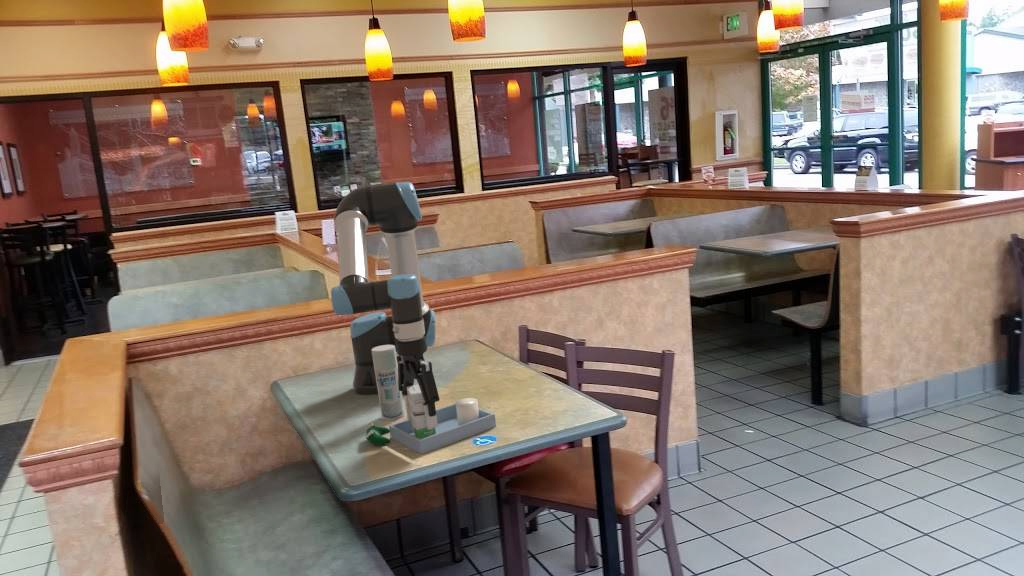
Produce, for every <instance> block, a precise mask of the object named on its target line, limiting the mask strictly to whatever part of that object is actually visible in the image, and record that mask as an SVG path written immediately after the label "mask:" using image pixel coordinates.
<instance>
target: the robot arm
mask: <svg viewBox="0 0 1024 576" xmlns="http://www.w3.org/2000/svg"><path fill="white" fill-rule="evenodd" d="M422 219H423V216H422V212H421V207H420V203H419V199H418V196H417V193H416V189H415V185H414V184H413V183H412V182H410V181H409V182H408V181H406V182H405V181H403V182H398V181H396V182H390V183H381V184H377V185H376V184H375V185H369V186H360V187H357V188H355V189H353V190H351V191H350V192H349V193H347V194H346V195H344V197H343V198H342V199H341V201H340V202H339V203H338V205H337V208H336V210H335V213H334V216H333V227H334V230H335V231H336V232H337V239H338V240H337V241H338V242H337V243H338V273H339V275H338V277H339V285H337V286H333V287H332V288H331V291H330V296H331V305H332V310H333V312H334V314H335V315H337V316H349V315H350V316H352V315H357V314H364V313H368V312H369V313H368V314H365V315H362V316H359V317H357V318H355V319H354V320H352V321H351V323H350V325H349V330H350V336H349V337H350V339H351V344H352V349H353V350H352V351H353V357H354V358H353V359H354V364H355V368H354V374H353V380H352V390H353V392H354V393H355V394H359V395H376V394H378V389H377V383H376V376H375V370H374V364H373V357H372V351H371V350H372V349H373V348H375V347H377V346H382V345H394V346H395V349H396V357H397V364H398V389H399V391H401V393H402V396H403V398H404V404H405V406H404V407H405V411H406V420H411V416H410V409H409V402H408V395H407V386H411V385H415V384H414V383H415V380H416V382H417V384H419V387H420V390H421V392H422V395H423V398H424V400H425V403H423V405H424V411H425V418H426V425H427V429H428V430H429V429H432V428H435V427H438V423H437V416H436V410H437V409H436V402H437V403H438V402H439V401H440V399H441V398H440V395H439V391H438V388H437V384H436V380H435V376H434V373H433V363H432V362H431V361H426V360H425V358H424V354H425V352H427V351H428V348H430V347H432V346H434V344H435V342H436V314H435V311H434V309H430V306H429V304H428V303H426V302H425V301H424V295H423V286H422V279H421V274H420V267H419V266H420V265H419V264H420V263H419V258H418V249H417V243H416V235H415V231H416V230H417V229H418V227H419V222H420V221H421V220H422ZM372 226H378V227H379V228H378V229H379V232H380V233H382V234H383V235H384V236H385V241H386V248H387V252H388V253H387V255H388V260H389V266H390V273H391V277H389V278H388V279H383V280H377V281H370V280H369V278H370V277H369V265H368V264H369V262H368V251H367V238H366V237H367V235H366V232H367V231H368V229H369V227H372ZM384 310H390V312H391V315H389V316H387V314H386V312H385V311H384ZM370 312H372V313H370Z"/></svg>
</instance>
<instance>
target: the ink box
mask: <svg viewBox="0 0 1024 576" xmlns="http://www.w3.org/2000/svg"><path fill="white" fill-rule="evenodd" d="M407 395H408V402H409V409H410V416H411V423H412V430H413V431H414V433H415V435H416V437H417V438H419V439H423V438H426V437H429V436H432V435H435V434H436V431H435V428H432V429H429V430H428V429H427V425H426V418H425V411H424V405H423V403H425V400H424V398H423V395H422V392H421V390H420V387H419V384H418V383H417V384H414V385H411V386H407Z"/></svg>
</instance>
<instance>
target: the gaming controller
mask: <svg viewBox="0 0 1024 576" xmlns="http://www.w3.org/2000/svg"><path fill="white" fill-rule="evenodd" d="M365 433H366V434H365V439H366V440H367V441H368V442H369V443H371V444H372V445H374V446H375V445H376V446H380V447H381V446H382V447H387V446H388V445H389V444H390V443H391V439H388V438H387V437H385V436H383V435H386V434H390V430H389V427H384V426H377V425H375V424H374V423H373V422H371V423H370V424H369V425H368V426H367V427H366V431H365Z"/></svg>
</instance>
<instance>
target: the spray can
mask: <svg viewBox="0 0 1024 576" xmlns="http://www.w3.org/2000/svg"><path fill="white" fill-rule="evenodd" d="M371 351H372V357H373V364H374V370H375V376H376V383H377V389H378V393H377V394H378V395H377V396H378V400H379V407H380V413H381V418H383V419H382V420H384V421H389V422H390V421H391V422H392V421H396V420H401V419H402V418H404V416H405V410H404V401H403V394H402V391H399V389H398V363H397V352H396V349H395V346H394V345H382V346H377V347H375V348H373V349H372V350H371Z"/></svg>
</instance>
